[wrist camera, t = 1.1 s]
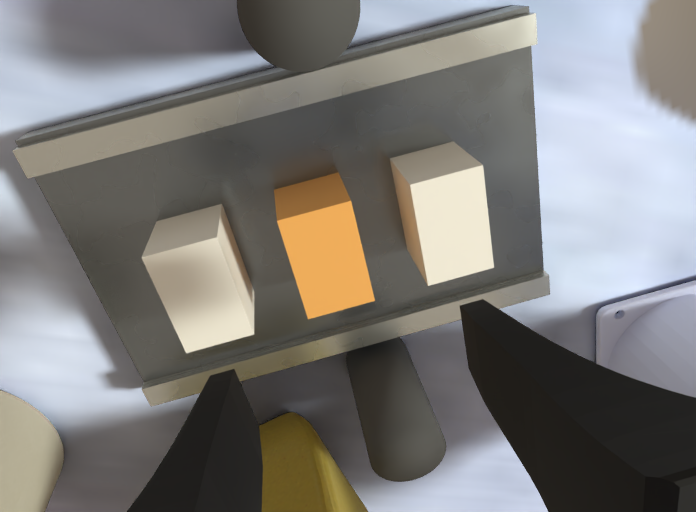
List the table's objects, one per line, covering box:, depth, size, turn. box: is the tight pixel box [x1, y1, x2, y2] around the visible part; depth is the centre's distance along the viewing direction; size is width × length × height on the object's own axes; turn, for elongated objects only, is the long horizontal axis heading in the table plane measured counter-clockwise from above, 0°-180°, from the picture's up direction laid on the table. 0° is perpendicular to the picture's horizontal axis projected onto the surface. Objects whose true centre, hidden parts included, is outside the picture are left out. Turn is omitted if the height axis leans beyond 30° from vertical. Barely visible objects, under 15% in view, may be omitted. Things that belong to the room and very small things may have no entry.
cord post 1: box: [237, 0, 360, 72], centre depth 16 cm, size 3×3×6 cm
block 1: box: [142, 204, 254, 353], centre depth 20 cm, size 2×4×3 cm, turn 13°
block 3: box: [390, 142, 494, 286], centre depth 20 cm, size 2×4×3 cm, turn 13°
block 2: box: [274, 172, 375, 319], centre depth 20 cm, size 2×4×3 cm, turn 13°
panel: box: [12, 5, 550, 406], centre depth 21 cm, size 18×12×2 cm, turn 103°
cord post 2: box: [346, 337, 446, 482], centre depth 23 cm, size 3×3×6 cm
